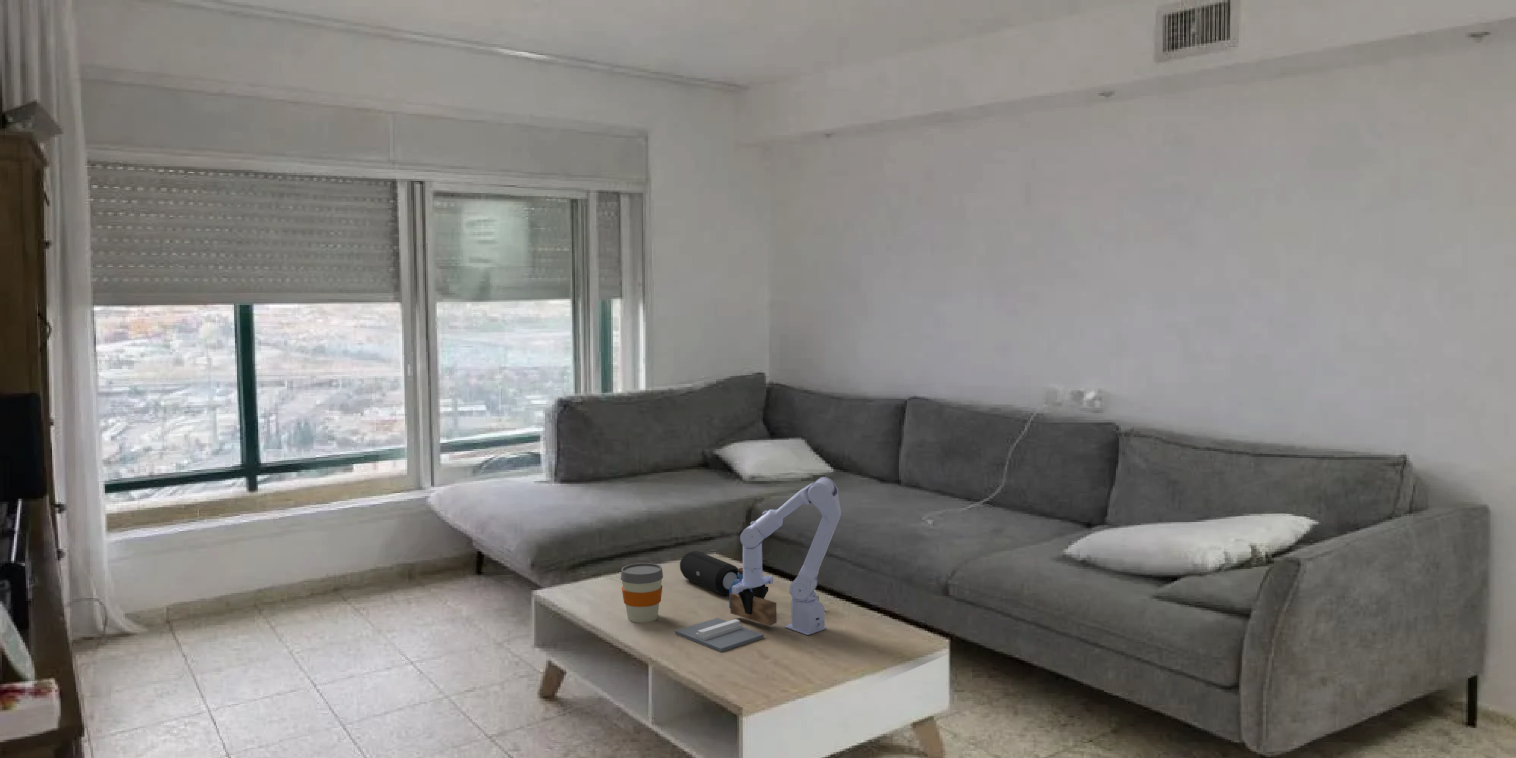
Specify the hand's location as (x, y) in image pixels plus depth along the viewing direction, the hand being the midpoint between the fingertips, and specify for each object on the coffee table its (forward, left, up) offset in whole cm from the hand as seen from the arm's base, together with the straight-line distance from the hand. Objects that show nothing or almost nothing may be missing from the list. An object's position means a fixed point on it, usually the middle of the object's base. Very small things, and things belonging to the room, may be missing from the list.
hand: (753, 612), depth 305 cm
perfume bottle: (+13, -8, -4) cm, 16 cm away
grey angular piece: (-3, -20, -4) cm, 21 cm away
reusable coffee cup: (+27, +20, -4) cm, 34 cm away
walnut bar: (0, 0, -2) cm, 2 cm away
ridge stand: (-1, +14, -3) cm, 14 cm away
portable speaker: (+36, -14, -4) cm, 39 cm away
